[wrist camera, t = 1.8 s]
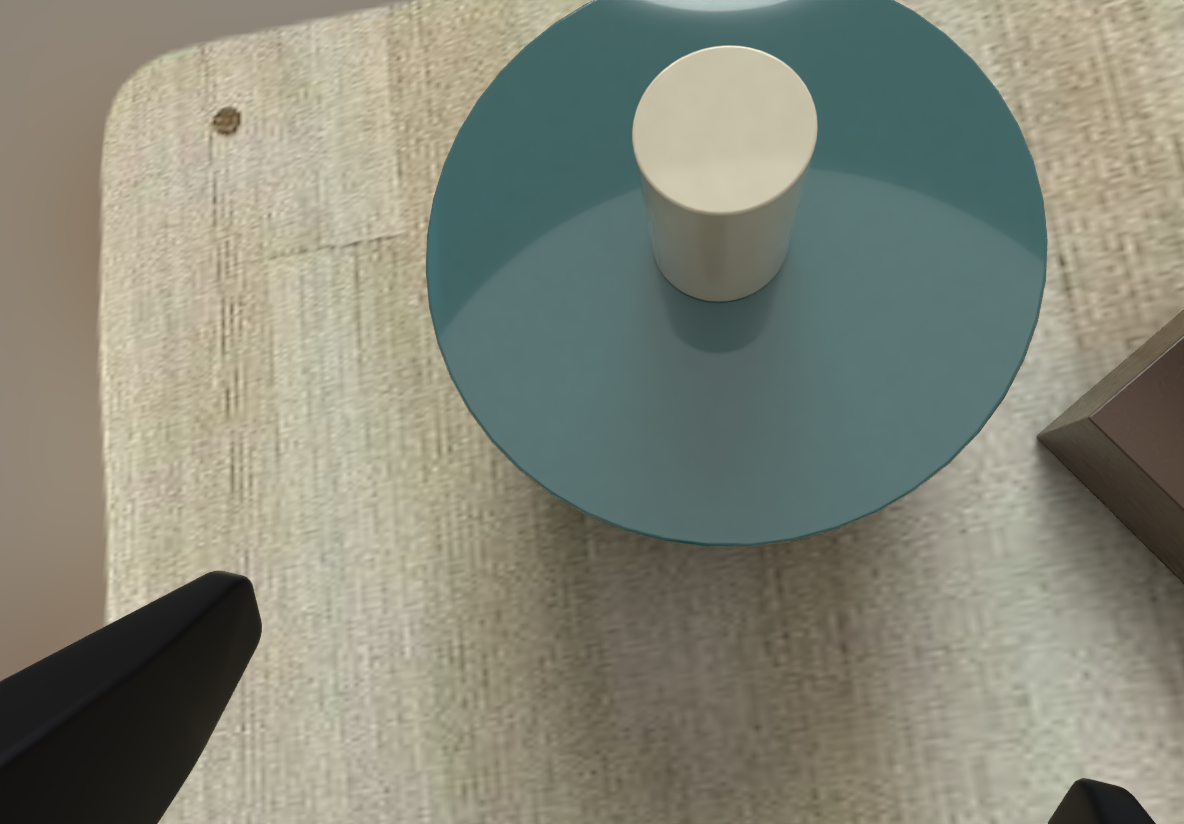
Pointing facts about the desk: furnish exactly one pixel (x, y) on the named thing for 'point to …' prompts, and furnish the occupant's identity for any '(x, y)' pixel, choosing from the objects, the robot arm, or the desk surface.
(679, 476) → the lid
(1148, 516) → the board
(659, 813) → the desk surface
